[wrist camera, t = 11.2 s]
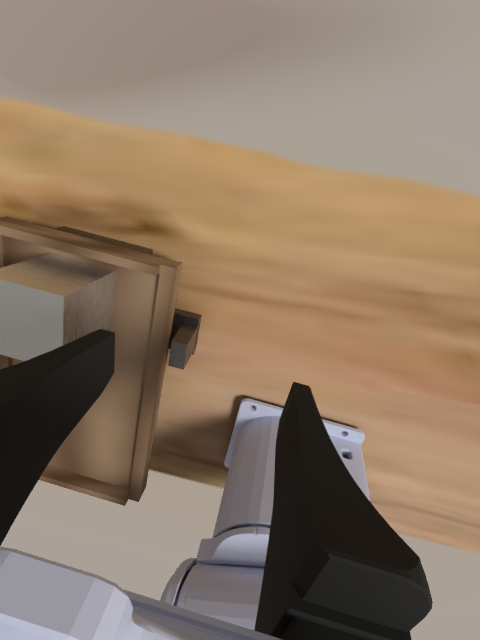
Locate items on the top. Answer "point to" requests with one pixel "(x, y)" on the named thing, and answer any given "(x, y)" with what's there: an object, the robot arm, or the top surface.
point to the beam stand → (183, 321)
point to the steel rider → (52, 304)
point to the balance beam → (129, 367)
